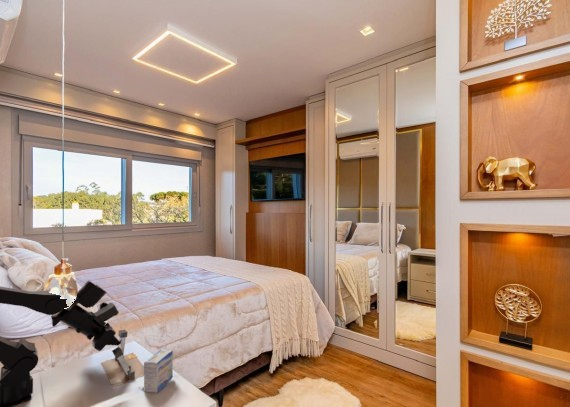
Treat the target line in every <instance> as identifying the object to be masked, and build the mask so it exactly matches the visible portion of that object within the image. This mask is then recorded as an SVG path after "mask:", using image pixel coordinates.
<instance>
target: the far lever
mask: <svg viewBox="0 0 570 407" xmlns="http://www.w3.org/2000/svg"><path fill="white" fill-rule="evenodd" d="M128 334H129V333H128V331H127V330H126V329H121V330H118V334H117V335H118V340H119V341H120V344H119V345H118V346H117V347H120V349H121V350H122V352H123V355H122V356H124V355H125V354H124V353H125V346H126V338H127V337H128ZM117 360H118V358H117Z"/></svg>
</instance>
